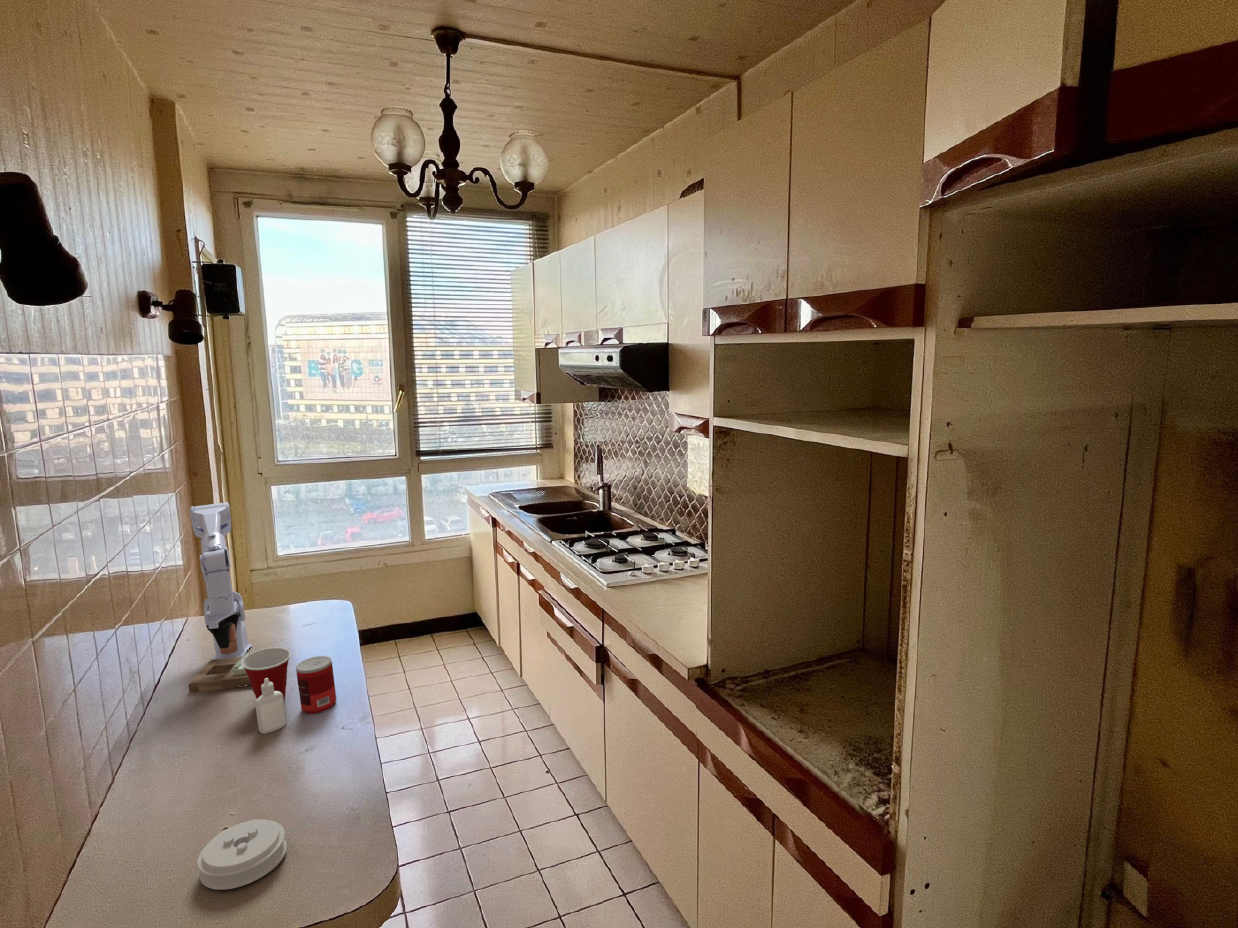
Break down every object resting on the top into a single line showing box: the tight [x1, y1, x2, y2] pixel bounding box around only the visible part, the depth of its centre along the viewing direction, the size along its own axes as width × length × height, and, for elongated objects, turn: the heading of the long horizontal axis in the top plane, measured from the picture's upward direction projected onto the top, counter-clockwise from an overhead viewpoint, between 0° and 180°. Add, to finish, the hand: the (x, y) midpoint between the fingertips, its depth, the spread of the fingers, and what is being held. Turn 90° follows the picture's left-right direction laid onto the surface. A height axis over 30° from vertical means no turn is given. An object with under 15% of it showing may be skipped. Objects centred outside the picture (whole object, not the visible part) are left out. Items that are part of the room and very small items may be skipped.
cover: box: [233, 652, 252, 675], centre depth 184 cm, size 10×9×2 cm
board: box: [188, 657, 251, 694], centre depth 183 cm, size 14×18×2 cm
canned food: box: [295, 655, 337, 715], centre depth 164 cm, size 8×8×11 cm
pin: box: [220, 623, 238, 654], centre depth 182 cm, size 4×4×7 cm
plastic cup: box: [241, 646, 292, 700], centre depth 167 cm, size 11×11×12 cm
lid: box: [197, 819, 288, 891], centre depth 113 cm, size 13×13×5 cm
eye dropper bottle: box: [254, 678, 288, 735], centre depth 155 cm, size 4×6×12 cm
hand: (227, 644), depth 183 cm, fingers closed on pin, 4 cm apart
